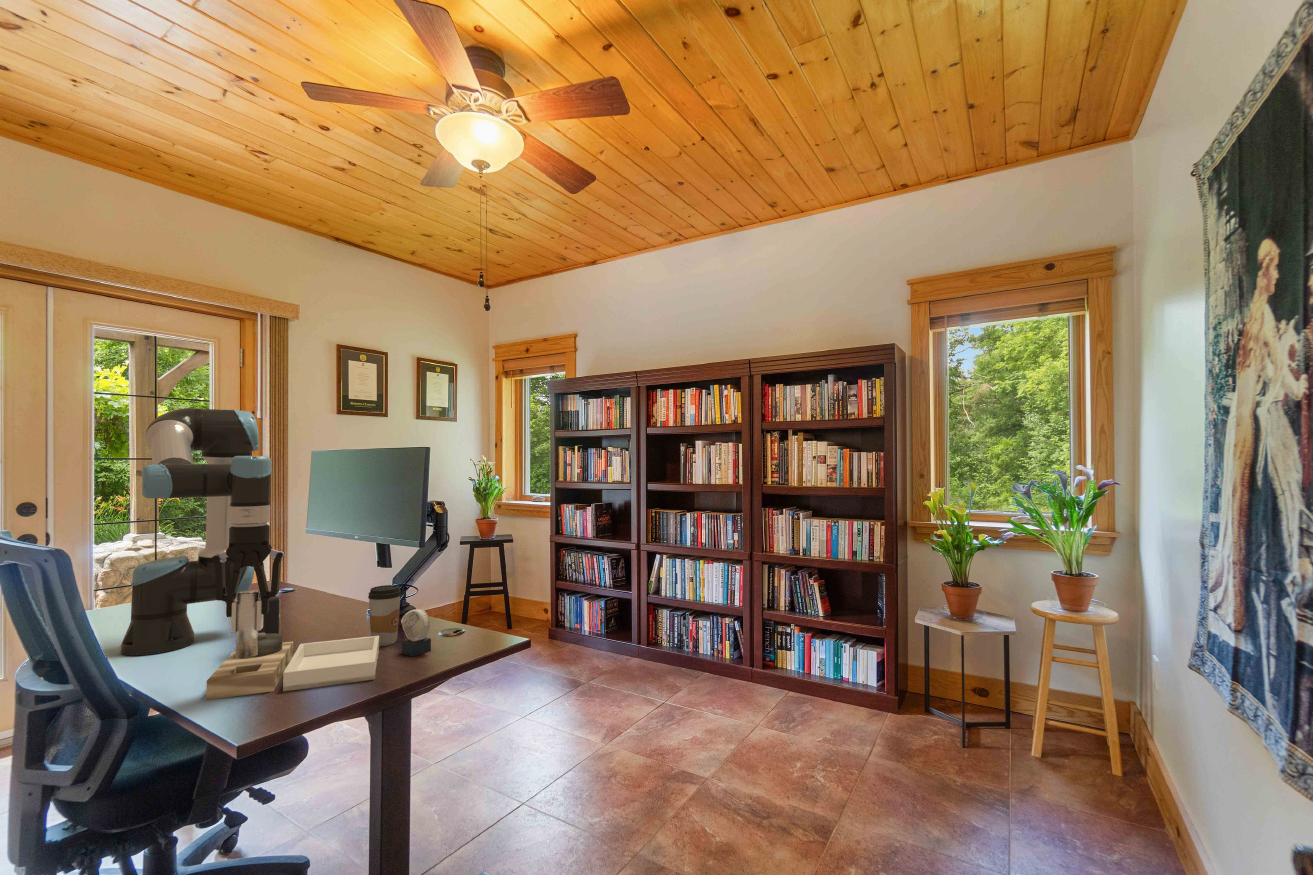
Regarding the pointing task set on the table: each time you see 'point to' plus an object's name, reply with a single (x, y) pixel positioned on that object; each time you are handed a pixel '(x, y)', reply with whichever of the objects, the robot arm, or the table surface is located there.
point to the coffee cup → (384, 613)
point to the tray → (332, 663)
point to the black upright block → (272, 617)
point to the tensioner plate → (252, 669)
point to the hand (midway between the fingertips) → (247, 629)
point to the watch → (414, 643)
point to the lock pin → (247, 624)
